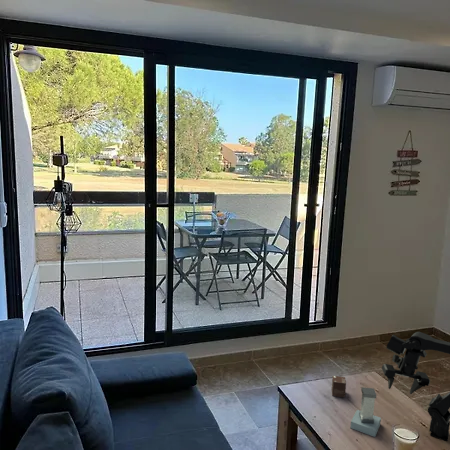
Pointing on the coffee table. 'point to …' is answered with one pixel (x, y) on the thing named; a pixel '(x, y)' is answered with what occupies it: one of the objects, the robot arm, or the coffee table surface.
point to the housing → (367, 405)
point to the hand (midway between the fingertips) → (399, 390)
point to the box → (338, 386)
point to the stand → (365, 425)
